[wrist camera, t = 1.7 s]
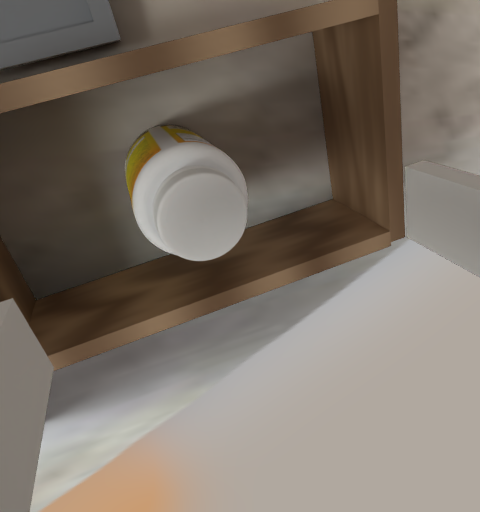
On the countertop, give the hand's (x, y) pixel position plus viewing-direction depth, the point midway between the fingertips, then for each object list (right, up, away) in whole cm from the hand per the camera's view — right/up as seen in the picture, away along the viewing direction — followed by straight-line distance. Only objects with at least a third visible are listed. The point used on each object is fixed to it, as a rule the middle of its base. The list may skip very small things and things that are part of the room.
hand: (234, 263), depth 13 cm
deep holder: (-4, +6, +13) cm, 15 cm away
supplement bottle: (-4, +6, +13) cm, 15 cm away
